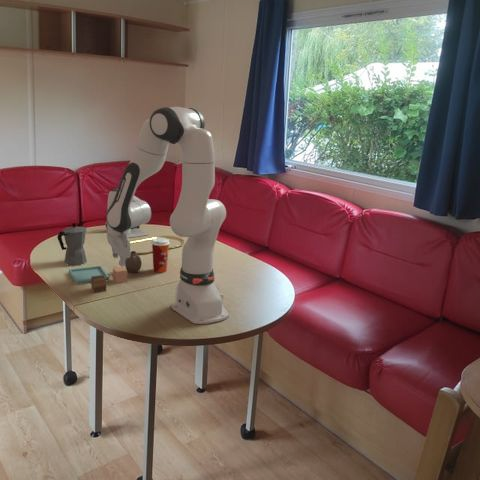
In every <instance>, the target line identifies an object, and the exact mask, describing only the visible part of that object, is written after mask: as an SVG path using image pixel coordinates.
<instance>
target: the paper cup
mask: <svg viewBox="0 0 480 480" xmlns="http://www.w3.org/2000/svg"><path fill="white" fill-rule="evenodd" d="M150 242H151V244H152V245H151V249H152V251H153V252H152V267H153V272H154V273H158V274H164V273H166V272H167V270H168V261H169V260H168V259H169V250H170V249H169V247H170V244H171V243H170V239H166V238H154V239H153V240H151V241H150Z"/></svg>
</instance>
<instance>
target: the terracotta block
mask: <svg viewBox="0 0 480 480" xmlns="http://www.w3.org/2000/svg"><path fill="white" fill-rule="evenodd" d="M112 280H113V281H114V283H115V284H122V283H126V282H127V283H128V271H127V270H126V267H125V266H119V267H113V268H112Z"/></svg>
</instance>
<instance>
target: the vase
mask: <svg viewBox="0 0 480 480" xmlns="http://www.w3.org/2000/svg"><path fill="white" fill-rule="evenodd" d="M130 251H131V255H130V258H126V260H125V266H124V267H125V269H126V270H127V273H130V274H131V273H132V274H136V273H138V272H139V271H140V270H141V268H142V266H143V265H142V259H141V257H140V255H139V254H137V253H138V252H137V251H134V250H130Z"/></svg>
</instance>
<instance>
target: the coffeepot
mask: <svg viewBox="0 0 480 480" xmlns="http://www.w3.org/2000/svg"><path fill="white" fill-rule="evenodd" d="M86 232H87V227H86V226H77V222H73V223H72V226H70V227H69V226H68V227H65V228H63V229H62V230H61V231H59V232H58V234H57V240H58V243H59V246H60V247H61V250H62V251H65V256H64V264H65V265H67V264H68V265H67V266H70V265H79V266H82V265H81V264H83V265H85V264H86V263H87V257H86V251H85V248H84V244H85V240H86ZM62 237H64V242H65V245H66V247H65V245H64V242H63V238H62ZM84 263H85V264H84Z"/></svg>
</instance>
